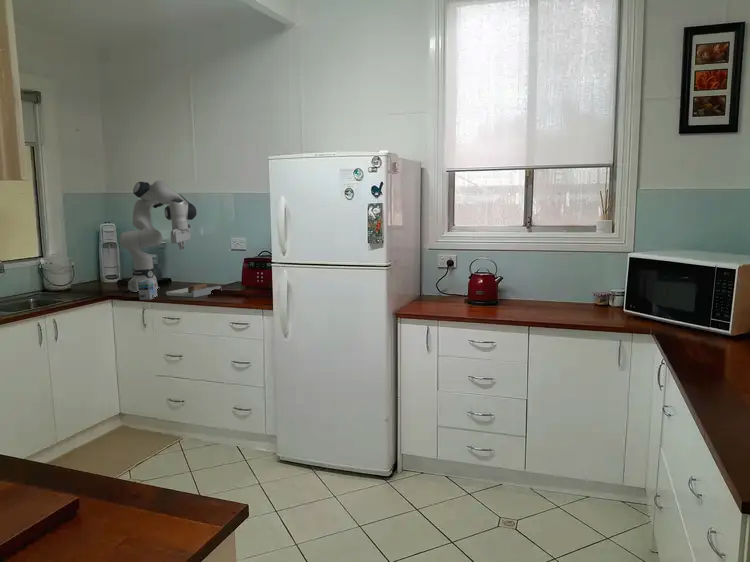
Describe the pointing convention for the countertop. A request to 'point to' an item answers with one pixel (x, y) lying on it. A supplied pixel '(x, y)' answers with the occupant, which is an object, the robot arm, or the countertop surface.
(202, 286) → the walnut block
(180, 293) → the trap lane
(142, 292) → the light bulb box
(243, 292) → the countertop surface
